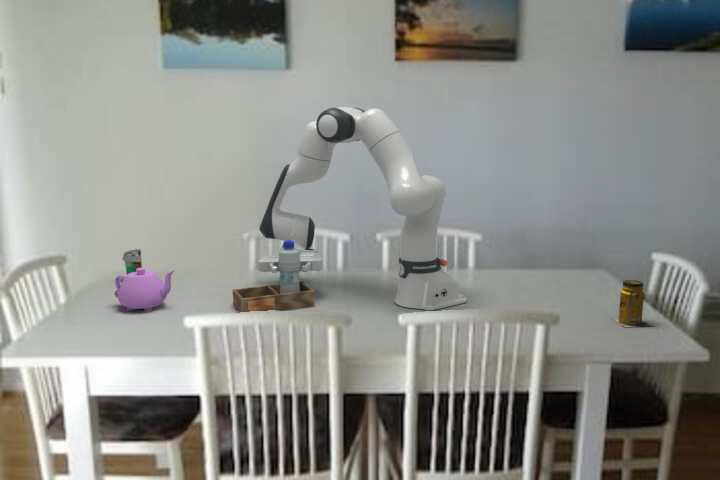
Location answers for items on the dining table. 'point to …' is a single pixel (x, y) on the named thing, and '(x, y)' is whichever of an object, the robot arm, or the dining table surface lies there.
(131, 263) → the food container
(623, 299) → the condiment
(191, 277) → the dining table surface
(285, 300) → the crate
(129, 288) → the teapot
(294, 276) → the bottle
